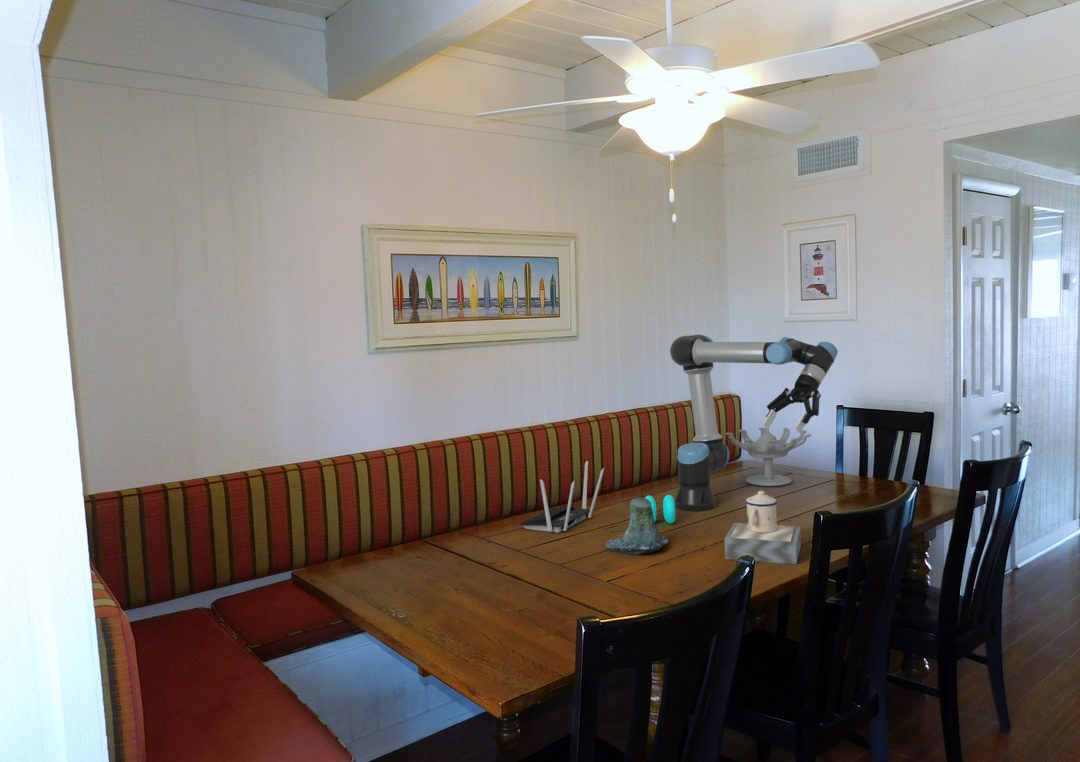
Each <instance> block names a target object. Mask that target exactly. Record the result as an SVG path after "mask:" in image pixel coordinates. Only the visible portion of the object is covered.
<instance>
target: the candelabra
mask: <svg viewBox="0 0 1080 762" xmlns="http://www.w3.org/2000/svg"><path fill="white" fill-rule="evenodd" d="M758 430H760V436H759V437H758V439H757V440H756V441H754V440H752V439H751V438H750V437H749V436H748V431H747V430H745V429H739V428H738V429H737V430H736V431H737V432H738V433H741V435H740V436H741V438H742V439H743V440H744V441H743V442H741V441H739V440H737V439H736V438H735V437H734V433H733V432H725V435H727V437H728V439H729V440H731V443H732V444H733V445H734V446H736V447H738V448H739V449H742V450H745V451H746V452H747V453H748V455H749V456H750V457H753V458H758V459H762V461H763V463H764V469H763V470H764V471H763V474H755V475H751V476H748V477H746V478H745V482H746V483H748V484H750V485H753V486H760V487H778V486H779V487H781V486H786V485H789V484H791V483H792V482H793V480H792V478H791V477H789V476H787V475H780V474H773V461H774V459H780V458H784V457H786V456H788V453H789V452H791V451H792V450H794V449H796V448H798V447H801V446H802V445H804V444H805V443H806V442H807V438H810V437H811V436H812V434H811V433H810V434H809V433H808V434H806V433H807V432H808V431H807V430H805V429H803V430H802V431H801V433H800V435H799V437H793V438H791V439H790V442H787V440H788V439H789V438H790V434H791V432H790V428H788V427H784V428H783V429H782V430H783V431H782V436H781V437H780V439H777V437H776V436H775V435H774V434H772V433H770V428H769V429H767V428H766V427H758Z"/></svg>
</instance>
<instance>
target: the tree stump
mask: <svg viewBox="0 0 1080 762" xmlns="http://www.w3.org/2000/svg"><path fill="white" fill-rule="evenodd" d="M629 506H630V507H629V510H630V515H629V524H628V525H629V526H628V528H627V529H626V530H625V531H624V534H621V535H620V536H619V537H616V538H613V539H609V540H607V541H605V544H604V546H605V549H606V550H608V551H611V552H615V553H619V554H625V555H633V556H639V555H644V554H650V553H656V552H658V551H659V550H660V549H661V548H662V547H664V546H665V545H666V544H667V543H668V542H669V540H668V538H667V537H666V536H662V535H661V534H660V531H659V529H658V527H657V525H656V524H655V523H656V521H655V522H654V518H653V512H652V507H651V502H650V501H649V500H648V499H645V497H636V498H635V497H634V498H632V499H631V500H630V503H629Z"/></svg>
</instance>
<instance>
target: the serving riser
mask: <svg viewBox="0 0 1080 762" xmlns="http://www.w3.org/2000/svg"><path fill="white" fill-rule="evenodd" d="M801 527H802V526H795V525H780V524H777V529H776V530H775V531H773V532H769V533H758V532H753V531H750V530H749V529H748V528H747V522H745V523H743V522H738V523H737V522H734V523H733V524H732V526H731V528H729V531H728V532H727V534H726V536H725V537H724V558H725V560H737V561H739V560H738V559H739V558H740V557H741V556H745V555H750V556H753V557H755V559H756V561H755V562H764V563H775V564H788V565H789V564H790V565H797V563H798V559H799V556H800V550H801V547H802V541H801V540H802V538H801V537H802V535H801V533H802V532H801V530H802V529H801Z"/></svg>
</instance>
